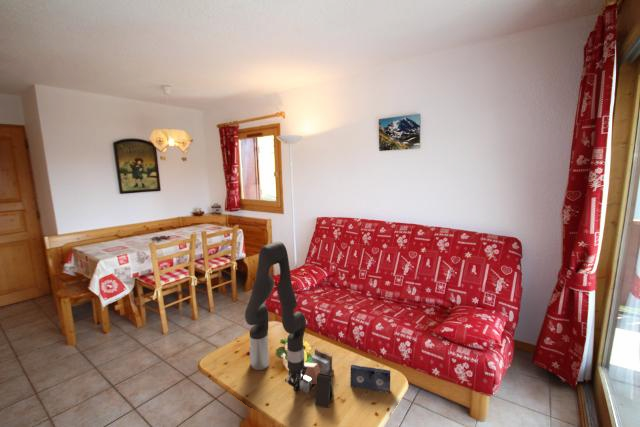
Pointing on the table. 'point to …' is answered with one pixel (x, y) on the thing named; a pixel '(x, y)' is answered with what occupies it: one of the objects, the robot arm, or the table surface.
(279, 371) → the table surface
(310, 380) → the grey flat box
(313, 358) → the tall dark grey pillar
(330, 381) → the door stopper
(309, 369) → the book
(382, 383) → the vhs cassette tape
